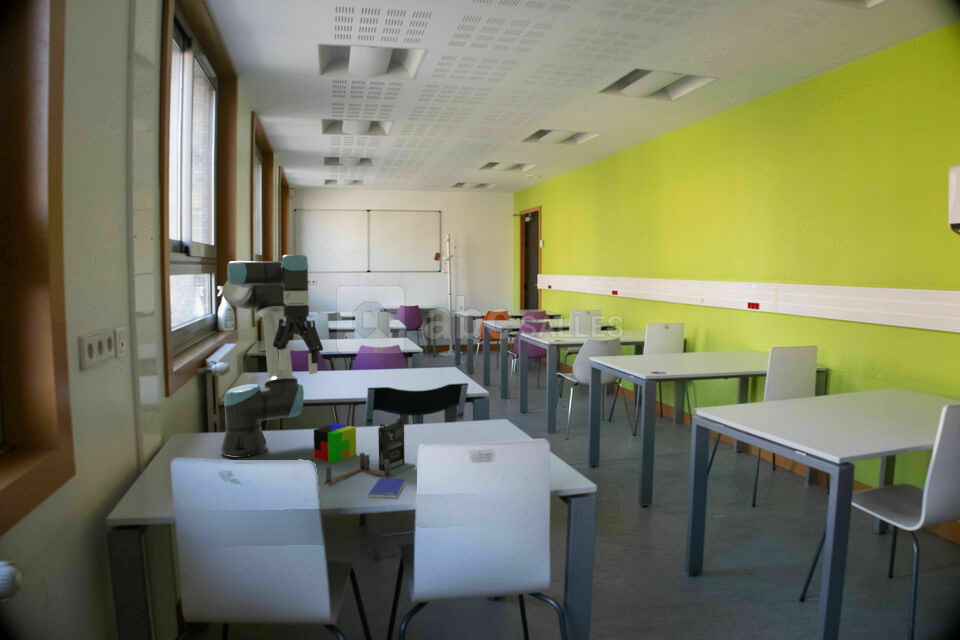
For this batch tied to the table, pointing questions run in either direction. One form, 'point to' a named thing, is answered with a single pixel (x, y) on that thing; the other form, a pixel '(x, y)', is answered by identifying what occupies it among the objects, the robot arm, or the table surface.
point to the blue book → (387, 488)
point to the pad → (395, 470)
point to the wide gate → (343, 476)
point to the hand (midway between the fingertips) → (298, 371)
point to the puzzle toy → (334, 442)
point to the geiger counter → (391, 445)
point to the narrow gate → (374, 472)
